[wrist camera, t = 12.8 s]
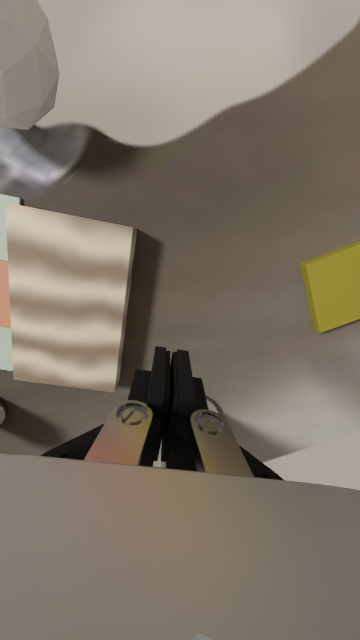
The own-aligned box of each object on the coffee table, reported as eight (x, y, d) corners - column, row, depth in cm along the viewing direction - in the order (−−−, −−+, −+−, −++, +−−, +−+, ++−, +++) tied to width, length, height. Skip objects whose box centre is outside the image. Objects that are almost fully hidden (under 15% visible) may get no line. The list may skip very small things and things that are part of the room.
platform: (119, 378, 43) (114, 392, 39) (27, 366, 41) (13, 379, 38) (137, 228, 35) (133, 227, 31) (24, 206, 33) (5, 202, 29)
